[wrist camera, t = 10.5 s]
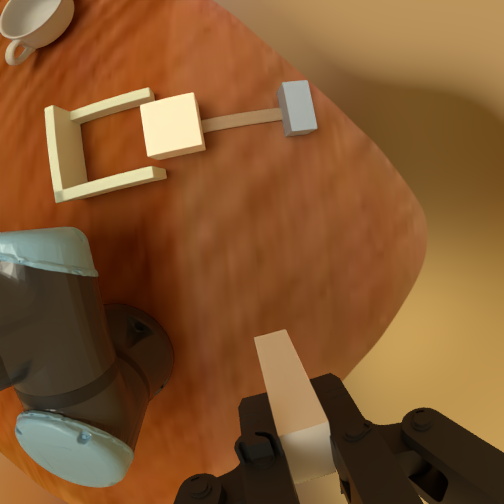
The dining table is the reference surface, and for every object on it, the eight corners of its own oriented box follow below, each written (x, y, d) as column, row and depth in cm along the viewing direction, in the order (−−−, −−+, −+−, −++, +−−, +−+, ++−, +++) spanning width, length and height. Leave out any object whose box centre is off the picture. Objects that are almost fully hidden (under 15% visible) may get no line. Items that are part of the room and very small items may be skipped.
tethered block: (159, 160, 38) (147, 156, 33) (152, 115, 37) (139, 105, 31) (308, 134, 39) (321, 126, 33) (299, 90, 38) (310, 76, 32)
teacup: (49, -6, 31) (27, -27, 23) (96, 1, 32) (76, -24, 24) (5, 67, 33) (-24, 54, 25) (47, 80, 34) (19, 65, 27)
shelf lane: (83, 199, 39) (56, 203, 31) (72, 118, 36) (44, 108, 29) (167, 178, 39) (153, 177, 32) (154, 93, 36) (139, 75, 29)
